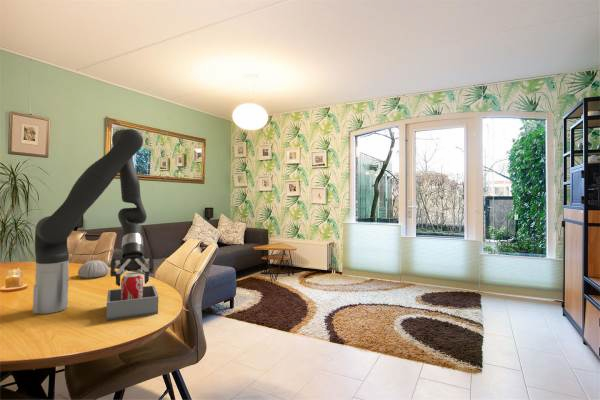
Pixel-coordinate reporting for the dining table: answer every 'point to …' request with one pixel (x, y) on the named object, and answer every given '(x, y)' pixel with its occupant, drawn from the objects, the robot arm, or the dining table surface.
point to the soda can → (131, 286)
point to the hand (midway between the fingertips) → (132, 283)
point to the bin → (131, 304)
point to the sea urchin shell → (93, 269)
